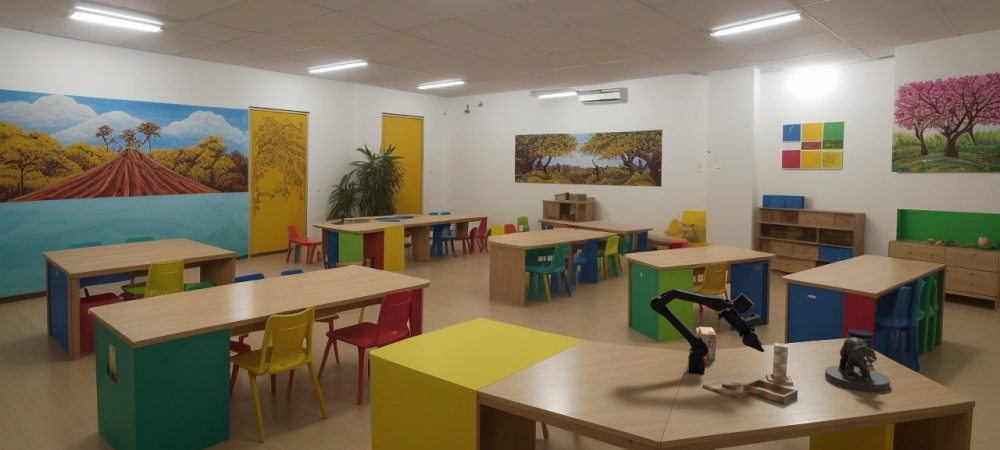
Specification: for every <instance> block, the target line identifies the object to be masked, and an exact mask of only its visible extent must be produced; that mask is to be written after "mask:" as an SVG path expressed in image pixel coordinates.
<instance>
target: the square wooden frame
mask: <svg viewBox="0 0 1000 450" xmlns="http://www.w3.org/2000/svg"><path fill="white" fill-rule="evenodd" d="M765 376H766V381H768V382H771V383H775V384H778V385H789V386H794V381H793V378H792V377H791V375H790V374H786V380H777V379H773V372H767V371H766V372H765Z"/></svg>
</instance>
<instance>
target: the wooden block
mask: <svg viewBox="0 0 1000 450" xmlns="http://www.w3.org/2000/svg"><path fill="white" fill-rule="evenodd" d="M773 345H774V346H773V364H772V365H773V366H772V373H773V377H772V379H777V380H787V379H786V375H787V373H788V372H787V369H788V353H789V346H788V344H786V343H778V342H777V343H776V342H774V344H773Z"/></svg>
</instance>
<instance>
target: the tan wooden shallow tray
mask: <svg viewBox="0 0 1000 450" xmlns="http://www.w3.org/2000/svg"><path fill="white" fill-rule="evenodd" d="M742 387H743V390H747V391H750V392H751V395H750V396H755V397H758V398H761V399H764V400H767V401H770V402H774V403H777V404H780V405H783V406H784V405H786V404H788V403H791V402H793V401H794V400H796V399H798V392H799V391H798V389H796V388H795V389H794V388H791V387H788V386H784V385H782V384H777V383H771V382H768V380H764V379H762V378H756V379H753V380H751V381H748V382H746V383H744V384H743V386H742Z"/></svg>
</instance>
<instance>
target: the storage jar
mask: <svg viewBox="0 0 1000 450" xmlns="http://www.w3.org/2000/svg"><path fill="white" fill-rule="evenodd" d="M853 337H856V338H859V339H862V340H863V341H864V342H865V343H866V345H867V347H869V348H870V349H872V348H873V345H874V333H873V331H870V330H865V329H860V328H850V329H848V330H847V338H853ZM853 366H856V367H859V366H857V365H856V364H853Z"/></svg>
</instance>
